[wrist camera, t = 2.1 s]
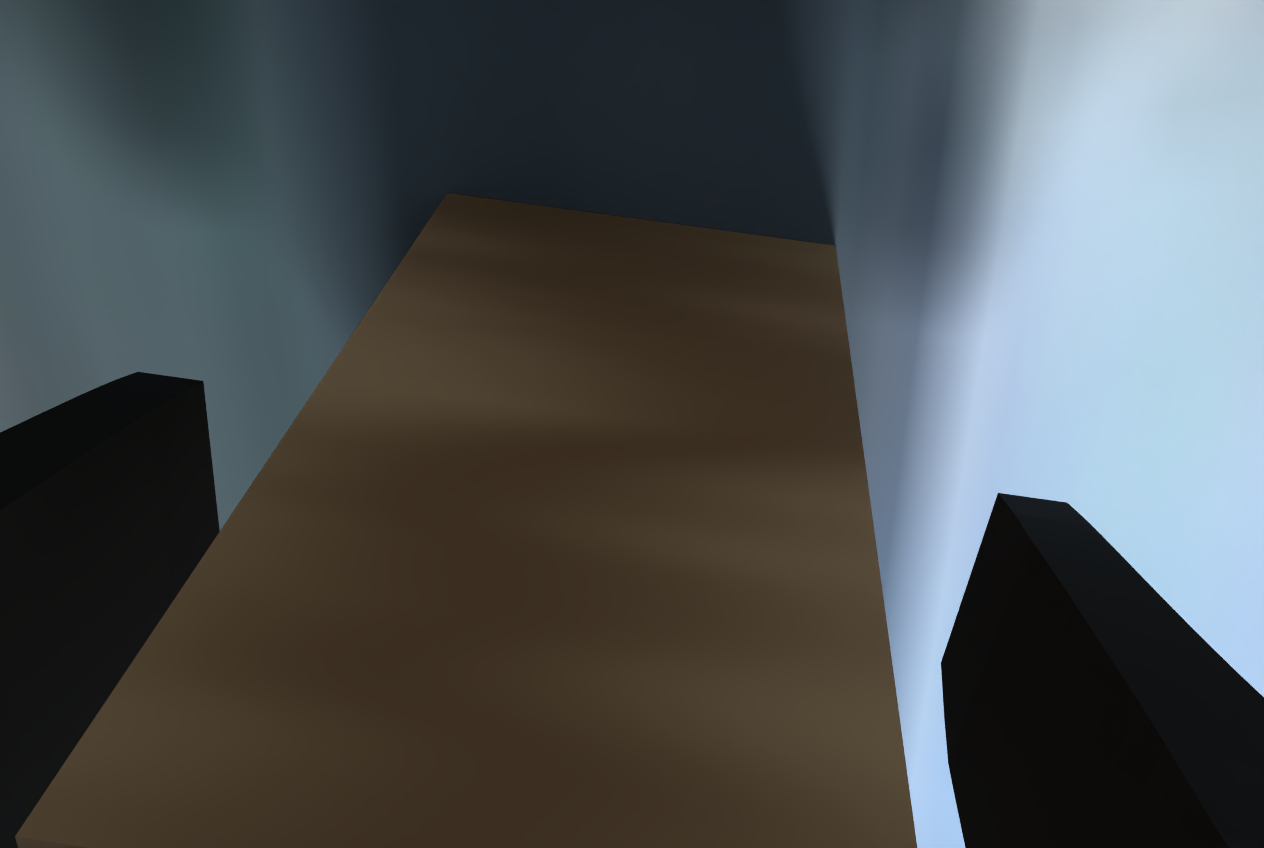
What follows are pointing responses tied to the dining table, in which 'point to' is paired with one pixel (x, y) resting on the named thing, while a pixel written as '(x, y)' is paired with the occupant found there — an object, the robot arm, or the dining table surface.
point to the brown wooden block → (534, 573)
